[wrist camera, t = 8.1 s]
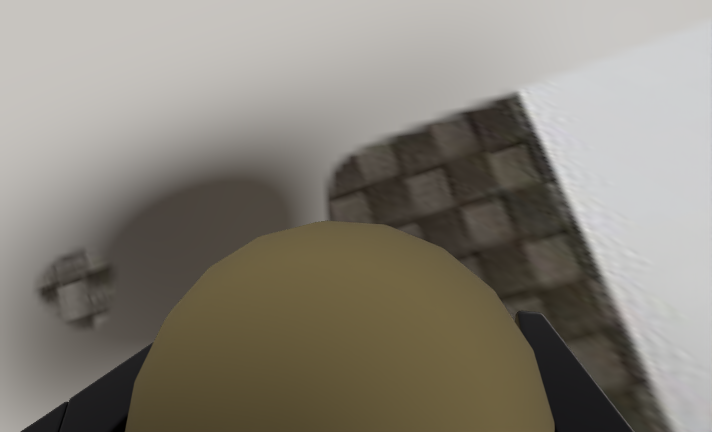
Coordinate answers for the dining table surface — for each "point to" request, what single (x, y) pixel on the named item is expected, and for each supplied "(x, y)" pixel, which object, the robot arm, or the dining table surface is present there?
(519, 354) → the olive game pawn
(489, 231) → the dining table surface
